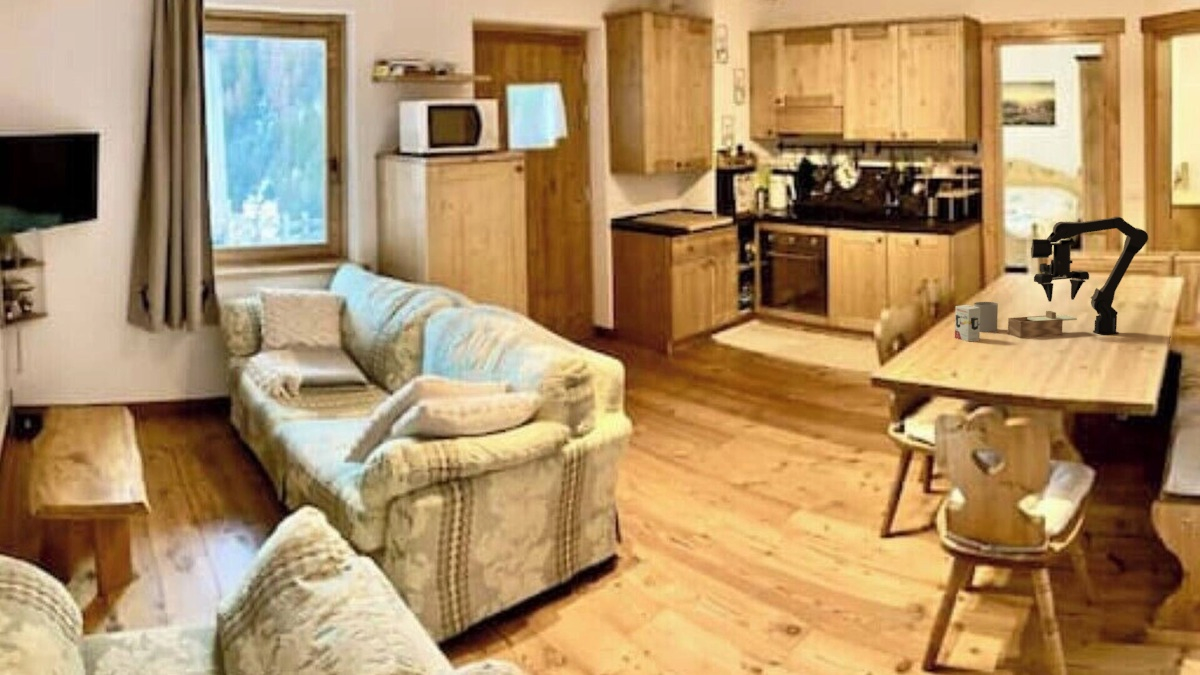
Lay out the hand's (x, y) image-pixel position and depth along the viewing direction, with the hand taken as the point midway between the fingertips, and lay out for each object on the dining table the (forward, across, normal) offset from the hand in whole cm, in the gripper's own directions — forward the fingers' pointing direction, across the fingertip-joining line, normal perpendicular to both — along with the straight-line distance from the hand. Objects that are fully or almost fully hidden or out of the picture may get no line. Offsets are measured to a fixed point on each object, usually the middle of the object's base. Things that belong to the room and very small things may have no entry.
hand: (1061, 300), depth 433 cm
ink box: (+12, +36, -2) cm, 38 cm away
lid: (+7, +3, -1) cm, 8 cm away
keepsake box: (+12, +10, -1) cm, 15 cm away
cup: (+12, +21, -15) cm, 29 cm away
